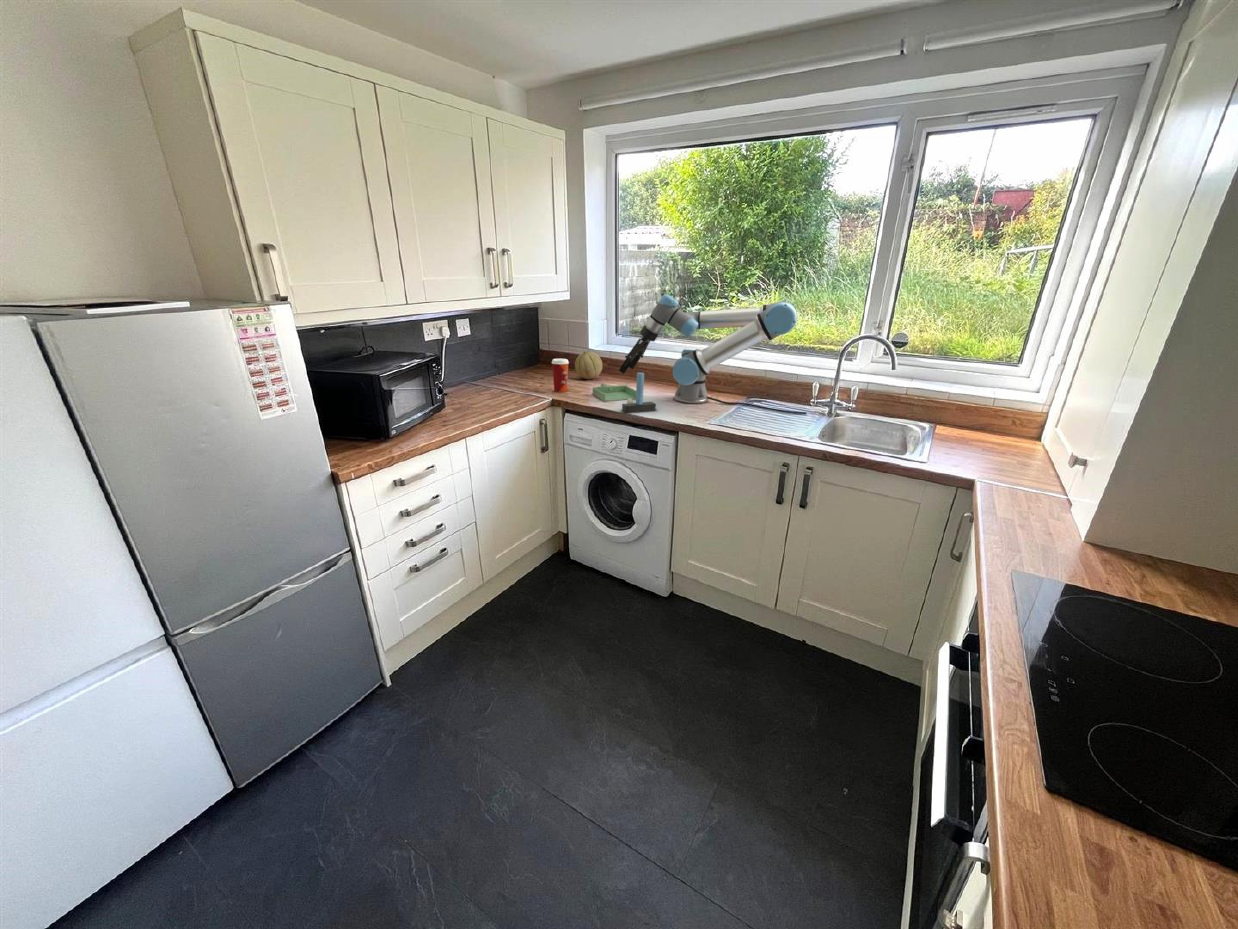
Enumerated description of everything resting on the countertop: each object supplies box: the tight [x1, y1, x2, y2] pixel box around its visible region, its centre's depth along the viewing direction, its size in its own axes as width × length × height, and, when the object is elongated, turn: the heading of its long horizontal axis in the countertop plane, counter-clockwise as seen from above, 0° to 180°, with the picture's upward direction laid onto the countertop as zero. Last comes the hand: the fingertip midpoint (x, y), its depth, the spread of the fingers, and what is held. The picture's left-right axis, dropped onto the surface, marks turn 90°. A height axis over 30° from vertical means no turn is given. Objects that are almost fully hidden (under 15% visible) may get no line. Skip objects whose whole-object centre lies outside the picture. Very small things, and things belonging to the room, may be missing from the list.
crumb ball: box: [626, 398, 635, 404], centre depth 219 cm, size 3×3×3 cm
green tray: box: [592, 382, 636, 402], centre depth 238 cm, size 25×17×3 cm
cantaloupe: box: [574, 351, 603, 380], centre depth 267 cm, size 15×15×15 cm
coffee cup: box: [551, 358, 570, 393], centre depth 239 cm, size 8×8×15 cm
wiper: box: [621, 372, 657, 414], centre depth 209 cm, size 4×14×16 cm, turn 113°
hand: (626, 369), depth 224 cm, fingers open, 13 cm apart
